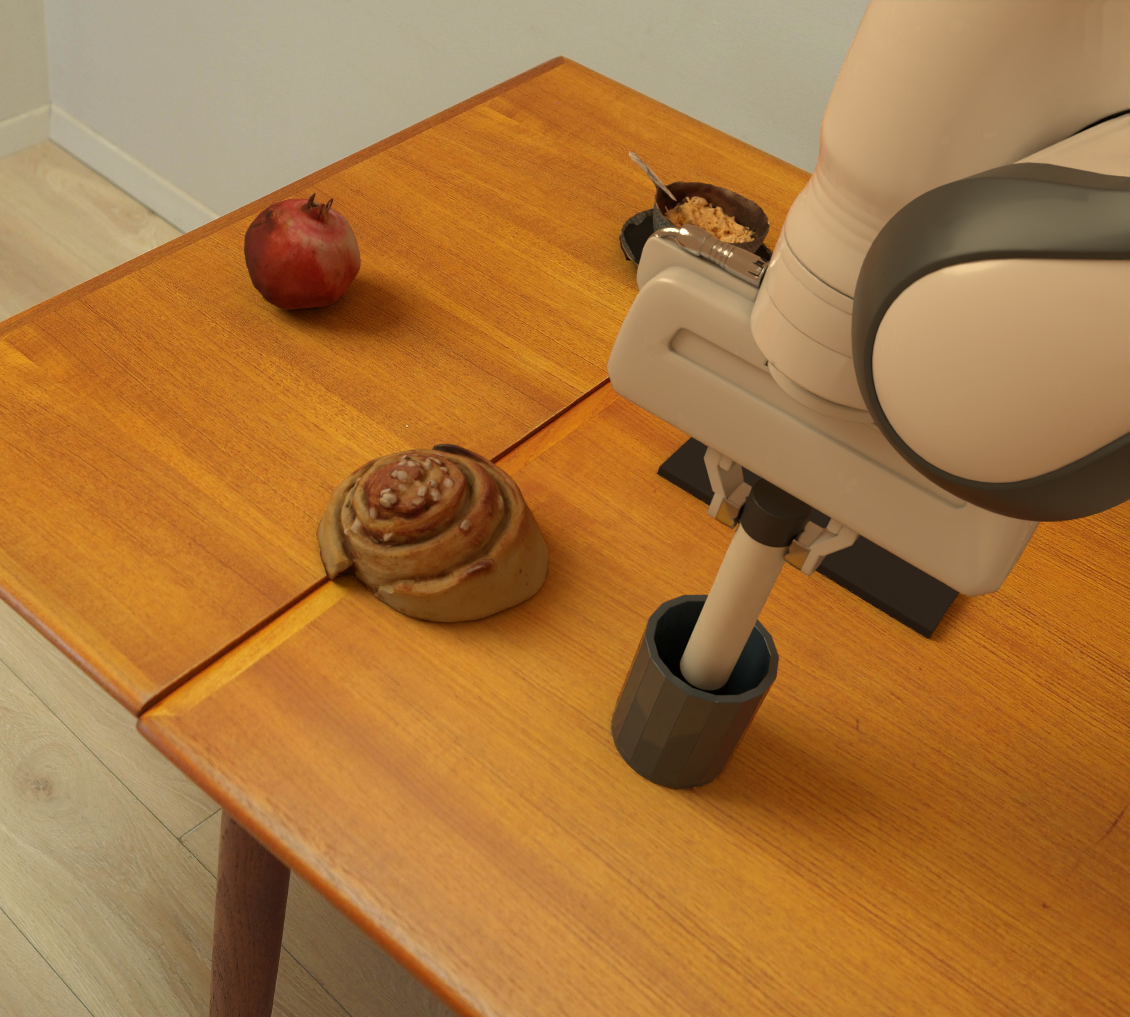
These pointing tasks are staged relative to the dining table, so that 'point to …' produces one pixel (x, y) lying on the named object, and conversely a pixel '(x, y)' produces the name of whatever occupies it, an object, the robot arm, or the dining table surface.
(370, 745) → the dining table surface
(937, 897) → the dining table surface
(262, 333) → the dining table surface
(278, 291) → the fruit
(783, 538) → the marker
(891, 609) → the mat
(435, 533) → the pastry
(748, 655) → the pen cup
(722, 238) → the soup bowl
